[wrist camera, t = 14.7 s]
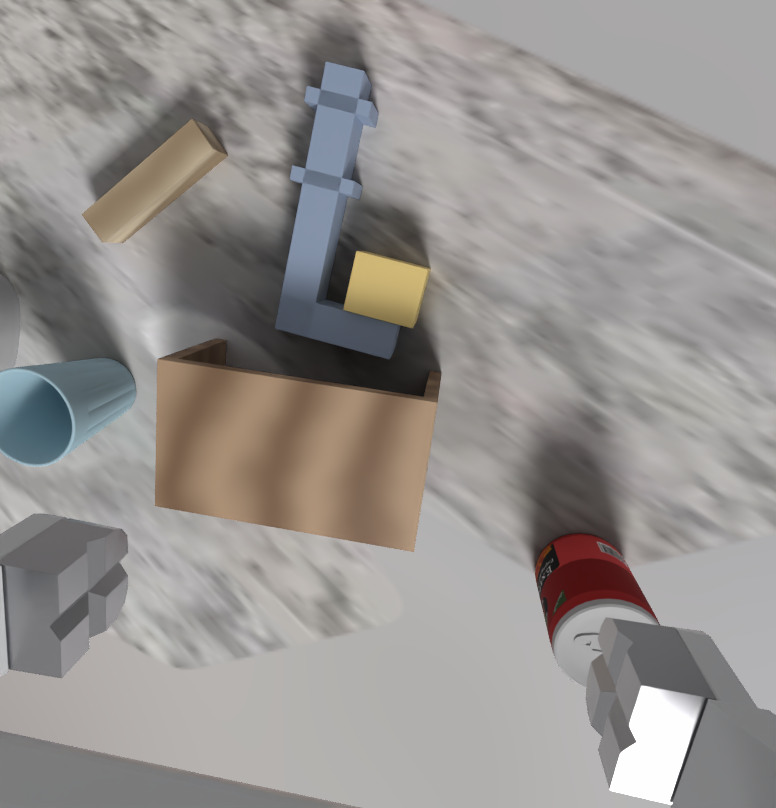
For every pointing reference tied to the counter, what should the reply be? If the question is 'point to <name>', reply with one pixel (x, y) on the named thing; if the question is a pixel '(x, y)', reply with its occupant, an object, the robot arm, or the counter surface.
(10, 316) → the lumpy-topped squat cylinder
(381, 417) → the box
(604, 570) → the canned food
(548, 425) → the counter surface
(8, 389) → the cup
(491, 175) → the counter surface
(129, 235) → the beech stick
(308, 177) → the crook
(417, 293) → the ochre block
